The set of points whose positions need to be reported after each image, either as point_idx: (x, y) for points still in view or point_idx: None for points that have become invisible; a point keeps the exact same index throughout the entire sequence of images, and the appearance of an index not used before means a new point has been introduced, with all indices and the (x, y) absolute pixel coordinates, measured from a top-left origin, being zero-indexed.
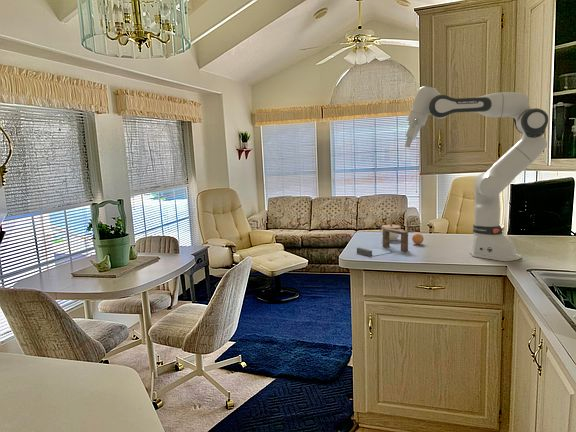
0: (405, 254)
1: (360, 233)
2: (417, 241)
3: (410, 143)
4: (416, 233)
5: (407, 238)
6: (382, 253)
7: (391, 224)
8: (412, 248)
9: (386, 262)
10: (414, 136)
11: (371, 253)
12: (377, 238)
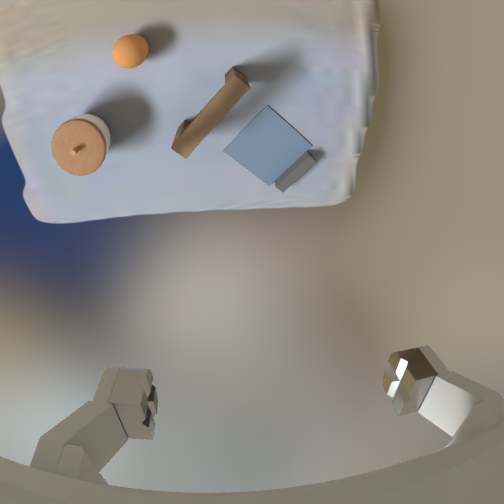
0: (282, 71)
1: (53, 220)
2: (148, 48)
3: (104, 416)
4: (127, 57)
5: (235, 73)
6: (285, 128)
7: (76, 150)
8: (200, 55)
9: (368, 117)
10: (484, 471)
11: (309, 154)
12: None
